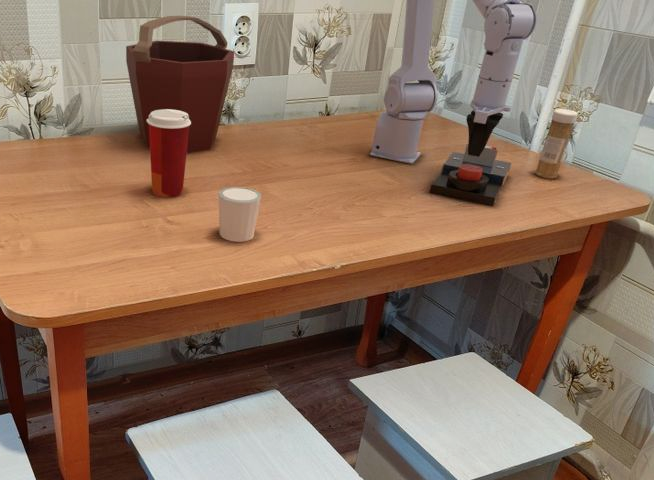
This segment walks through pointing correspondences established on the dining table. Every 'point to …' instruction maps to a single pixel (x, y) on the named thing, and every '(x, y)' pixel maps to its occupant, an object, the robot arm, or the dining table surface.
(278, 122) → the dining table surface
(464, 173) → the red button
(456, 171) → the button box
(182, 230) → the dining table surface
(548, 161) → the spice jar
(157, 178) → the paper cup
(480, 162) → the tap lever
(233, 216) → the white tapered cup
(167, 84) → the bucket
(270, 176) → the dining table surface
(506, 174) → the base
